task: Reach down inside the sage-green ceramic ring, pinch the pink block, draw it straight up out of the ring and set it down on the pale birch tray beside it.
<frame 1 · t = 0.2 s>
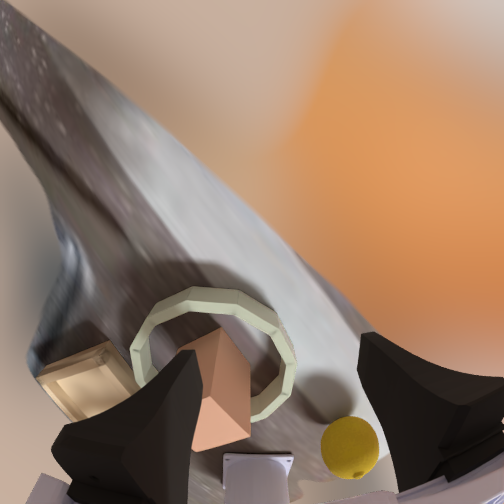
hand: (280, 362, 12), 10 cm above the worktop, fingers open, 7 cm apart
pink block: (208, 388, 20), in the ceramic ring
lemon: (340, 417, 26), on the worktop
ceramic ring: (214, 357, 23), on the worktop
birch tray: (111, 401, 25), on the worktop
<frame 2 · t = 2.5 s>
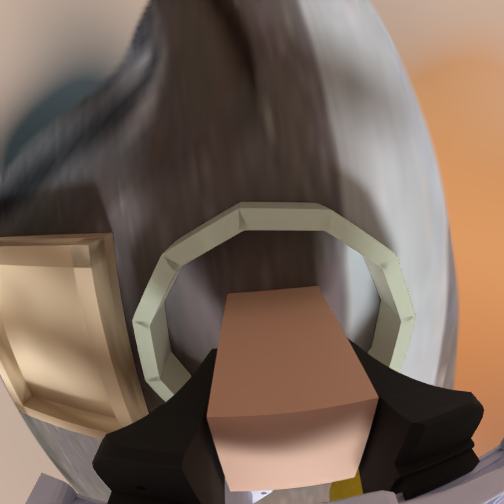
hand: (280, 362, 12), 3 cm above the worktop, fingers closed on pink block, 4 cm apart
pink block: (282, 378, 11), in the ceramic ring, touching gripper
lemon: (354, 457, 18), on the worktop
ceramic ring: (275, 329, 15), on the worktop
birch tray: (57, 336, 15), on the worktop
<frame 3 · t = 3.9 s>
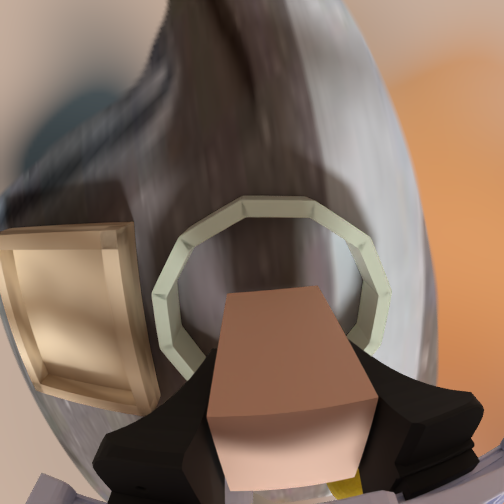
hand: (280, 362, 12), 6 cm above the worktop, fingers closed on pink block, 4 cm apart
pink block: (282, 378, 11), point 7 cm above the worktop, touching gripper
lemon: (347, 433, 21), on the worktop
ceramic ring: (271, 304, 17), on the worktop
birch tray: (77, 315, 18), on the worktop
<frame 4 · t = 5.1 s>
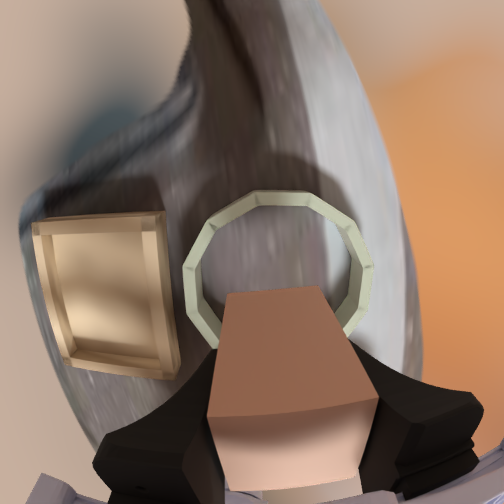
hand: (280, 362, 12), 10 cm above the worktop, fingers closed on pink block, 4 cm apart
pink block: (283, 378, 11), point 11 cm above the worktop, touching gripper
ceramic ring: (277, 278, 22), on the worktop
birch tray: (109, 292, 22), on the worktop
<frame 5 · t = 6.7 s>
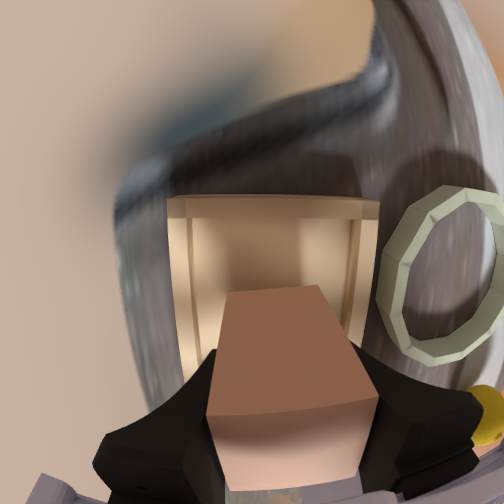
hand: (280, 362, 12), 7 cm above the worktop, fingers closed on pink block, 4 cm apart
pink block: (282, 377, 11), point 8 cm above the worktop, touching gripper
lemon: (461, 390, 22), on the worktop
ceramic ring: (449, 273, 18), on the worktop
birch tray: (270, 299, 18), on the worktop
when the fingers open (5 cm above the worktop, at t = 7.8 s): pink block drops 1 cm, resting on birch tray.
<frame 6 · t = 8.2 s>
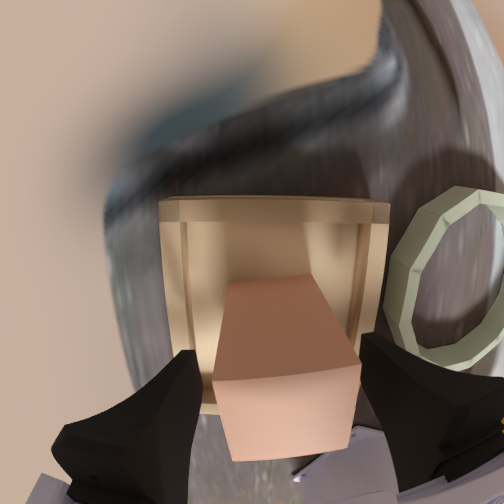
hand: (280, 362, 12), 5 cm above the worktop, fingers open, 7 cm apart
pink block: (280, 356, 12), in the birch tray, point 5 cm above the worktop
ceramic ring: (459, 279, 17), on the worktop
birch tray: (272, 308, 17), on the worktop
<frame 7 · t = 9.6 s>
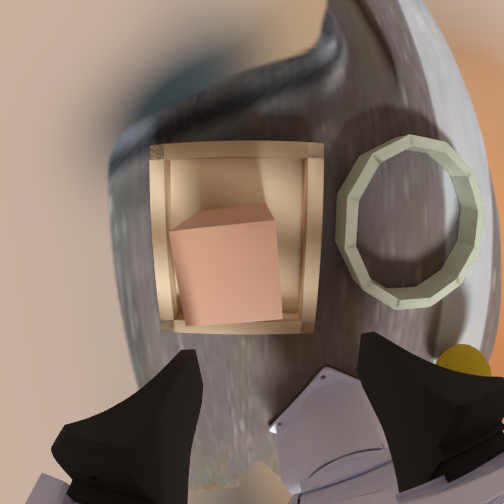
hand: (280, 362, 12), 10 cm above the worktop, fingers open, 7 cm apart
pink block: (233, 253, 16), in the birch tray, point 5 cm above the worktop
lemon: (441, 353, 24), on the worktop
ceramic ring: (409, 220, 21), on the worktop
birch tray: (237, 236, 21), on the worktop
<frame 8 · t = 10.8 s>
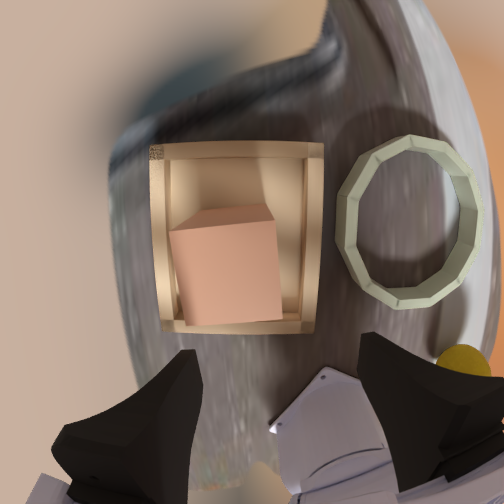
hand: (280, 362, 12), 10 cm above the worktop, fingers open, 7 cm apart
pink block: (233, 253, 16), in the birch tray, point 5 cm above the worktop
lemon: (441, 353, 24), on the worktop
ceramic ring: (409, 220, 21), on the worktop
birch tray: (237, 236, 21), on the worktop
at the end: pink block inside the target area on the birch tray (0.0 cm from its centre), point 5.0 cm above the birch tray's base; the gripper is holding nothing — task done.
